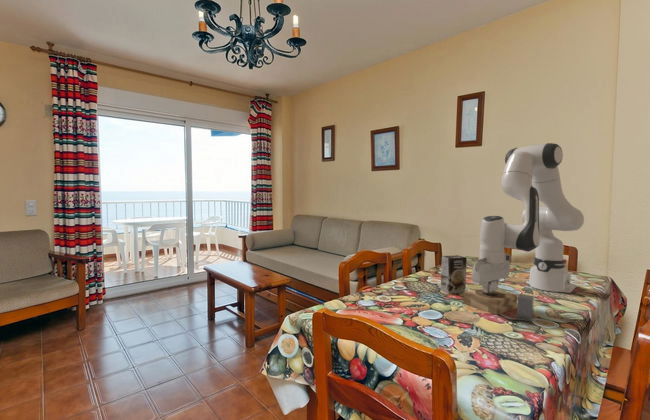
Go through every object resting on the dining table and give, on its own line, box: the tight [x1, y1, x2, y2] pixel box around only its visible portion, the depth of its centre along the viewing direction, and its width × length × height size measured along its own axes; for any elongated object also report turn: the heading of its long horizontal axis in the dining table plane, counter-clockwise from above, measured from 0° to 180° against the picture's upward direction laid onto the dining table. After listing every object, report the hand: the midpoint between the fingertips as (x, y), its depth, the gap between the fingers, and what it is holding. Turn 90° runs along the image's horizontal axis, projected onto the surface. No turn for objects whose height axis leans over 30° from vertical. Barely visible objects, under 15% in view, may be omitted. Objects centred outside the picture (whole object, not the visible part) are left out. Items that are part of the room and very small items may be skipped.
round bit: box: [484, 280, 497, 296], centre depth 130 cm, size 4×4×8 cm
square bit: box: [516, 293, 535, 323], centre depth 118 cm, size 4×4×8 cm
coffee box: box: [440, 255, 468, 295], centre depth 149 cm, size 9×6×16 cm
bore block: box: [462, 286, 518, 316], centre depth 130 cm, size 14×14×5 cm
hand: (490, 291), depth 130 cm, fingers closed on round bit, 4 cm apart
